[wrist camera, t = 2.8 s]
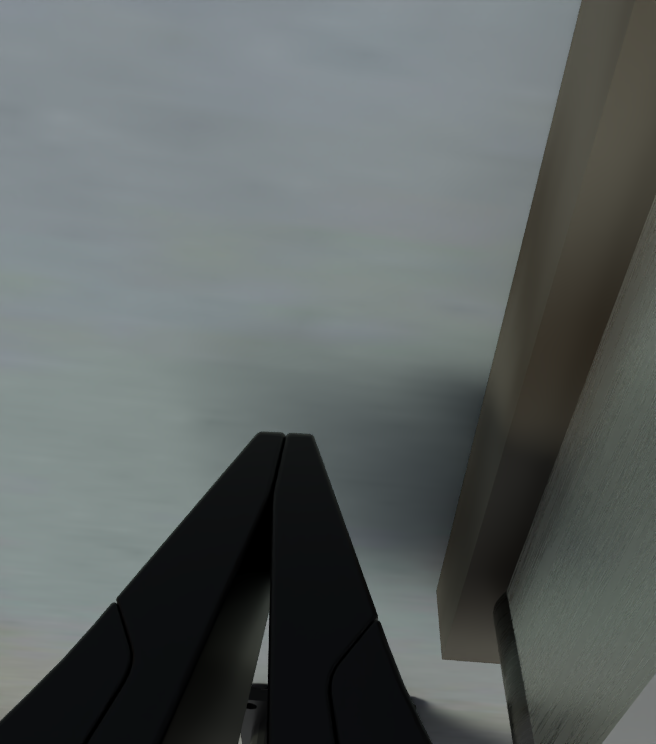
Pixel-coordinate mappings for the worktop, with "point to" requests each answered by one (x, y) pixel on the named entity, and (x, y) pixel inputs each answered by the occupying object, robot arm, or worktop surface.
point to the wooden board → (555, 307)
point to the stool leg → (594, 550)
